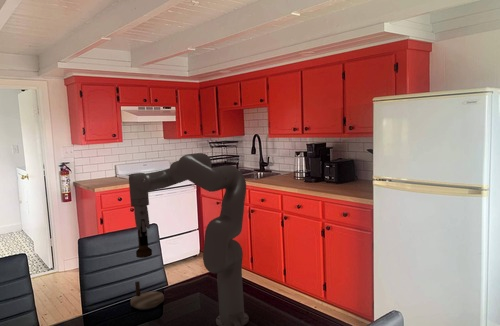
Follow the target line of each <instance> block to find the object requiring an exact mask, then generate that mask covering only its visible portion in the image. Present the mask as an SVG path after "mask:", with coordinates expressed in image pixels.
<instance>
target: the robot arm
mask: <svg viewBox="0 0 500 326" xmlns="http://www.w3.org/2000/svg"><path fill="white" fill-rule="evenodd" d="M185 181H189V182H191V183H192V184H194V185H196V186H198V187H199V188H201V189H203V190H204V191H206V192H211V193H212V192H217V191H221V190H224V189H225V191H224V194H223V198H222V200H221V208H220V213H219V216H217V217H215V218H213V219H212V220H210V221H209V222H208V224H207V226H206V228H205V233H204V241H203V242H204V243H203V251H202V252H203V253H202V260H203V261H202V262H203V265H204V267H205V269H206V270H207V271H208V272H209V273H211V274H217V275H216V278H217V279H216V281H217V294H218V295H217V296H218V297H217V298H218V310H219V311H218V312H219V315H218V316H217V317H216V318H215V324H216V325H217V326H245V325H247V324H248V323H249V321H250V320H249V319H250V317H249V315H248V314H247V313H246V312H245V305H244V290H243V289H244V288H243V287H244V286H243V258H244V256H243V255H244V253H243V252H244V251H243V248H242V246H241V244H240V242H238V241H237V240H235V238H236V237H238V236H240V234H242V229H243V222H244V213H245V201H246V195H247V182H246V178H245V176H244V175H243V172H241V170H240V169H238V168H237V167H235V166H233V165H221V166H217V167H212V160H211V158H210V156H208V155H207V154H206V153H203V152H198V153H197V152H195V153H189V154H188V153H187V154H184V155H183V156H181V157H180V158H179V159H178V160H175V161H173V162H172V163H171V164H170V165H169V167H168V168H166V169H164V170H159V171H154V172H153V171H151V172H148V173H145V172H136V173H131V174H129V176H128V186H129V187H128V188H129V197H130V207H131V208H133V211H134V213H133V214H134V222H135V227H136V228H137V231H138V230H140V237H139V238H140V246H144V245H148V246H149V239H148V238H149V237H148V229H150V228H151V225H150V218H149V217H150V216H149V209H148V206H149V205H150V200H149V198H150V197H149V192H155V191H158V190H162V189H166V188H170V187H172V186H175V185H177V184H180V183H183V182H185ZM141 228H142V229H141ZM146 230H147V231H146ZM141 231H142V232H141ZM147 237H148V238H147Z"/></svg>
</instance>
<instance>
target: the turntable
mask: <svg viewBox="0 0 500 326" xmlns="http://www.w3.org/2000/svg"><path fill="white" fill-rule="evenodd" d="M134 284H135V295H134V296H132V297H131V299H130V306H131V307H133V308H135V309H137V308H149V307H153V306H156V305H158V304H159V305H160V304H162V303H163V302H164V300H165V297H164V294H163V292H160V291H156V290H155V291H145V292H141V283H140V281H135V283H134ZM159 305H158V306H159Z"/></svg>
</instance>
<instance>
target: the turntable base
mask: <svg viewBox="0 0 500 326" xmlns="http://www.w3.org/2000/svg"><path fill="white" fill-rule="evenodd" d="M159 305H160V304H158V305H156V306H153V307H149V308H136V309H137V310H138V311H149V310H153V309H155V308H157V307H158V306H159Z"/></svg>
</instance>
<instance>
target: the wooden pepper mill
mask: <svg viewBox="0 0 500 326" xmlns="http://www.w3.org/2000/svg"><path fill="white" fill-rule="evenodd" d="M141 229H142V228H141ZM146 231H147V232H148V229H146ZM141 232H142V231H141ZM139 237H140V230H138V229H137V238H138V239H137V241H138V249H137V250H136V251H135V253H136V254H135V255H136V256H135V257H137V258H139V259H143V258H149V257H151V256H152V255H153V251H152V248H151V247H149V244H148V245H144V246H140V238H139ZM147 238H149V237H148V236H147Z"/></svg>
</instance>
